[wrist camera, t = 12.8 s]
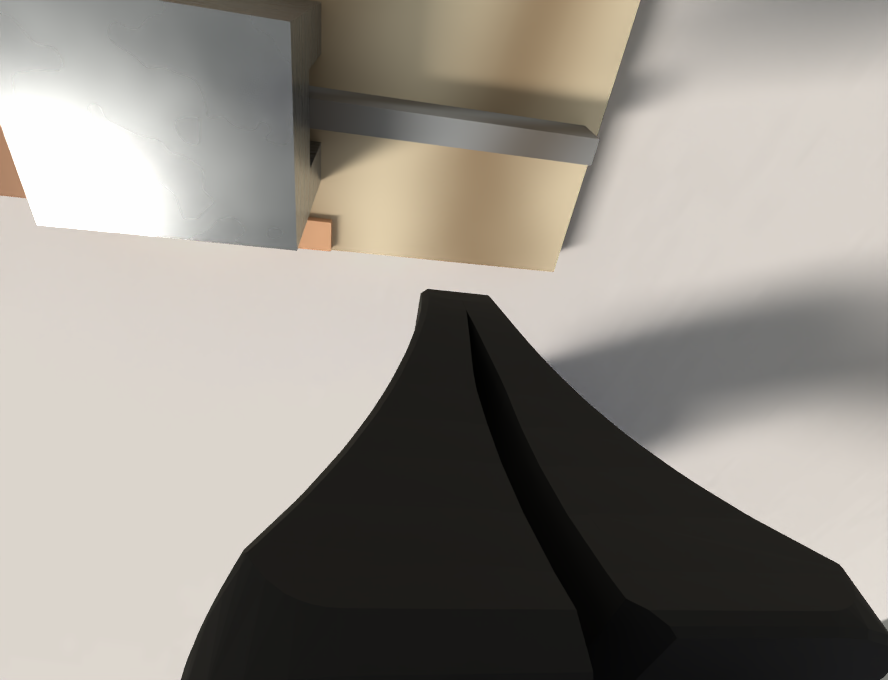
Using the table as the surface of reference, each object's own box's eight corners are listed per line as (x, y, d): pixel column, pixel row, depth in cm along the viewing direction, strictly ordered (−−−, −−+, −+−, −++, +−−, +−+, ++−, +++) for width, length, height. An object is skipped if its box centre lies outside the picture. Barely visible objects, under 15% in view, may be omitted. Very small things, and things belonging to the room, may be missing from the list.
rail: (639, -49, 15) (699, -50, 12) (546, 257, 20) (570, 307, 18) (-65, -192, 12) (-215, -239, 9) (63, 207, 18) (-2, 256, 15)
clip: (321, 2, 14) (290, 21, 10) (320, 180, 17) (296, 250, 13) (82, -39, 13) (-58, -35, 9) (127, 157, 16) (37, 225, 12)
